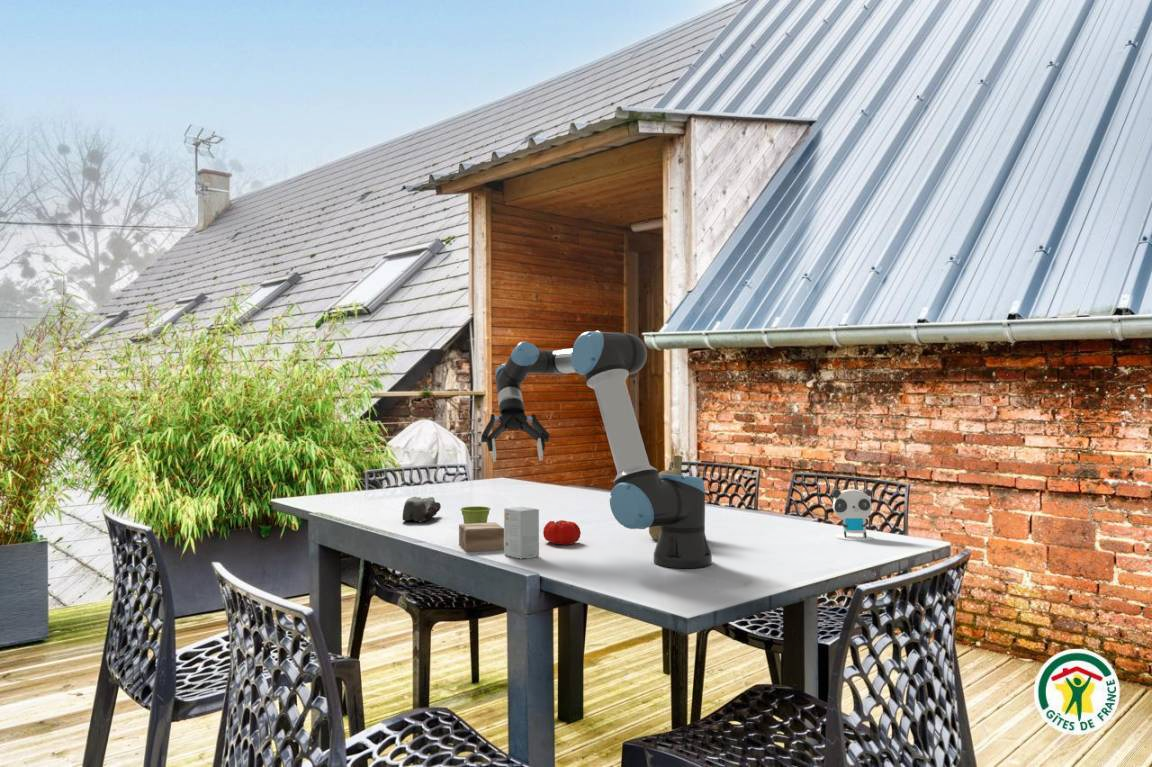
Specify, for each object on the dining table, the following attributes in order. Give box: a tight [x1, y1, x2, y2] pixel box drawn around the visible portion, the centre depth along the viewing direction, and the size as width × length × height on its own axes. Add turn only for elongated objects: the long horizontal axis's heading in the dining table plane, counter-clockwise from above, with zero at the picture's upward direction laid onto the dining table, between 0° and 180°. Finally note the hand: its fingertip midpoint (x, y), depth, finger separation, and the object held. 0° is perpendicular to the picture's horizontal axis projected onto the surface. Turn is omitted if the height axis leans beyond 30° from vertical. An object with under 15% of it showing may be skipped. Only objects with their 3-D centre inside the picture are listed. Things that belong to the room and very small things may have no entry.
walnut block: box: [458, 521, 504, 553], centre depth 237 cm, size 11×11×6 cm
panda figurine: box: [830, 488, 874, 542], centre depth 252 cm, size 12×11×15 cm
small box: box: [503, 506, 540, 560], centre depth 224 cm, size 8×6×13 cm
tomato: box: [542, 519, 581, 546], centre depth 243 cm, size 10×11×7 cm
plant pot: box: [460, 505, 491, 524], centre depth 255 cm, size 9×9×9 cm
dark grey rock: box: [402, 496, 442, 522], centre depth 288 cm, size 18×11×8 cm, turn 179°
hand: (518, 458), depth 236 cm, fingers open, 13 cm apart
